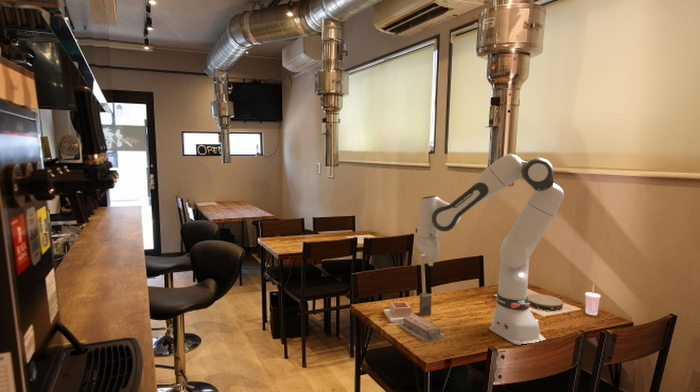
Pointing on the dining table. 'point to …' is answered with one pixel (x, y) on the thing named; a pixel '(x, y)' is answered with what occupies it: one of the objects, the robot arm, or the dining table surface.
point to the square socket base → (398, 311)
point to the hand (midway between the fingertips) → (426, 262)
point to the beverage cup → (592, 302)
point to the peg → (425, 304)
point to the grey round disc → (545, 302)
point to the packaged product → (421, 328)
